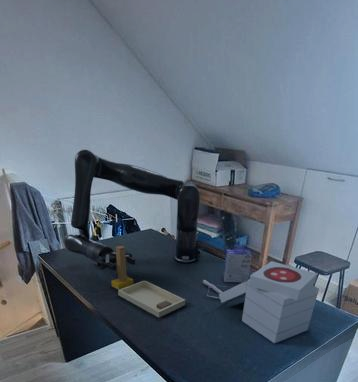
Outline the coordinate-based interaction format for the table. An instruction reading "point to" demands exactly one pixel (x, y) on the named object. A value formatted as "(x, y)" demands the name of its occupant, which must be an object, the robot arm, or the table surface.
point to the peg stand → (121, 270)
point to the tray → (151, 297)
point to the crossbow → (212, 288)
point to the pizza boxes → (277, 300)
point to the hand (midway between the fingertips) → (125, 265)
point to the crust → (163, 304)
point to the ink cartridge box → (237, 265)
